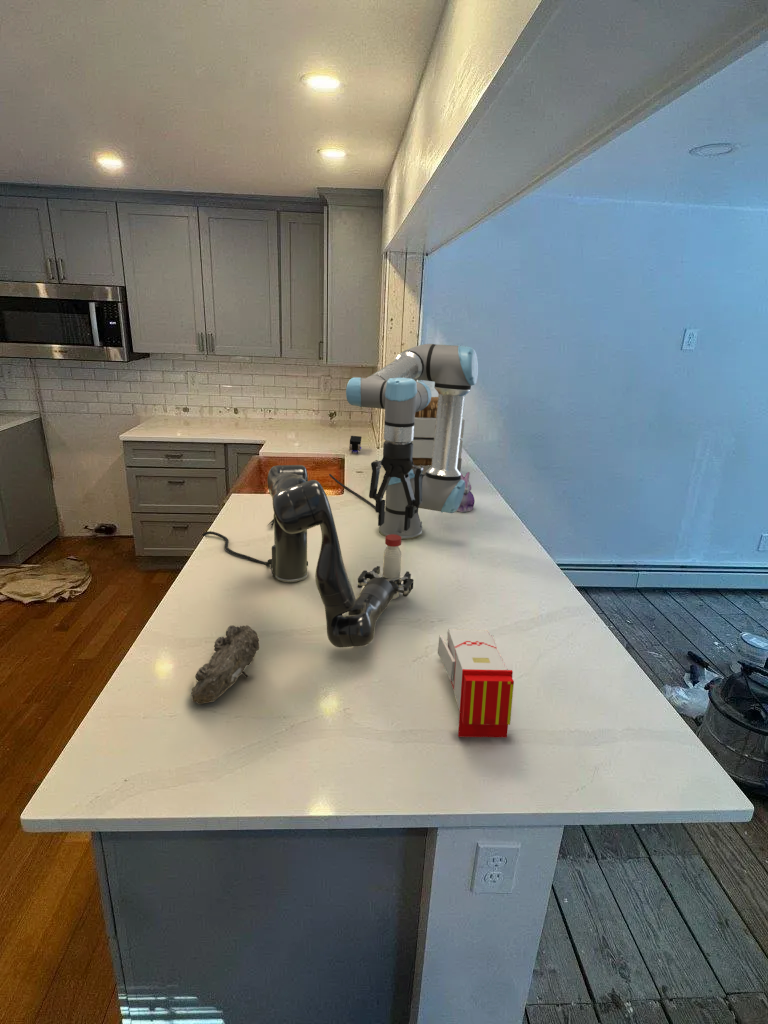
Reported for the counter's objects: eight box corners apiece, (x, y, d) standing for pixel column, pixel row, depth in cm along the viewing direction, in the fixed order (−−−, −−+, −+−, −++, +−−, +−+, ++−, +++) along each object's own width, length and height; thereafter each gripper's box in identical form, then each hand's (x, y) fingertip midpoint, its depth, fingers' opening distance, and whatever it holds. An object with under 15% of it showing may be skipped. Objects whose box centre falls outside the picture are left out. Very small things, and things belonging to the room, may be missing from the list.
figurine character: (361, 457, 304) (361, 447, 317) (361, 444, 301) (362, 434, 314) (348, 456, 304) (349, 447, 317) (348, 443, 300) (349, 434, 314)
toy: (488, 613, 130) (523, 677, 101) (484, 667, 133) (517, 744, 104) (435, 612, 130) (455, 676, 101) (432, 666, 133) (451, 743, 103)
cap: (404, 544, 152) (404, 537, 151) (393, 548, 149) (393, 541, 149) (393, 539, 155) (393, 533, 154) (381, 543, 152) (382, 536, 151)
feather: (287, 506, 225) (290, 502, 224) (270, 530, 198) (272, 526, 198) (283, 504, 225) (286, 500, 224) (265, 527, 198) (268, 523, 197)
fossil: (211, 627, 129) (258, 597, 124) (240, 656, 132) (287, 627, 127) (170, 698, 110) (224, 665, 105) (204, 729, 113) (259, 699, 108)
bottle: (402, 595, 157) (406, 539, 152) (390, 600, 154) (393, 543, 148) (390, 589, 160) (393, 533, 155) (378, 594, 157) (380, 538, 152)
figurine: (461, 514, 221) (464, 477, 216) (446, 506, 230) (449, 470, 225) (480, 511, 226) (484, 475, 221) (466, 503, 234) (469, 468, 229)
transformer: (382, 463, 289) (386, 382, 275) (445, 464, 293) (451, 384, 279) (390, 482, 257) (394, 392, 243) (460, 483, 261) (468, 394, 247)
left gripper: (402, 589, 139) (419, 563, 153) (348, 579, 143) (369, 555, 157) (400, 616, 141) (417, 588, 156) (347, 605, 145) (368, 579, 160)
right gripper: (440, 443, 143) (433, 528, 150) (368, 434, 149) (365, 516, 157) (431, 449, 136) (425, 537, 144) (356, 439, 142) (354, 524, 150)
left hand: (393, 571), depth 157 cm, fingers open, 8 cm apart
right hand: (394, 526), depth 150 cm, fingers open, 7 cm apart
